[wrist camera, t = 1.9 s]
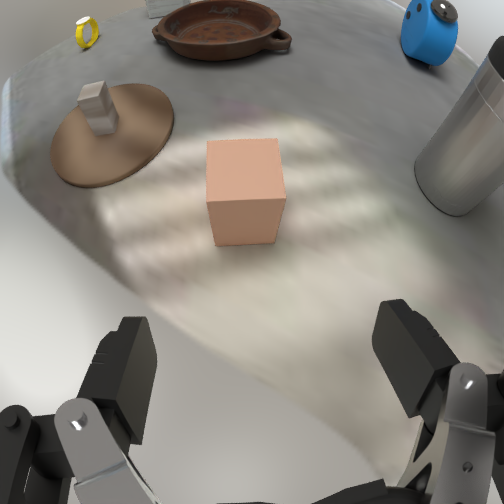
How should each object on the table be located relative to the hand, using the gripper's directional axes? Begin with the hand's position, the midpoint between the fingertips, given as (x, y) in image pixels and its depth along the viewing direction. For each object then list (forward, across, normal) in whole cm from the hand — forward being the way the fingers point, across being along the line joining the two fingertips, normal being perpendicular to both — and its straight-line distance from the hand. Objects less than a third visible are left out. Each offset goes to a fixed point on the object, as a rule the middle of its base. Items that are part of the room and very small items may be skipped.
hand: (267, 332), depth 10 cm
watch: (+47, +26, -25) cm, 59 cm away
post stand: (+28, +15, -7) cm, 33 cm away
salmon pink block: (+19, 0, +2) cm, 19 cm away
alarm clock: (+43, -33, -21) cm, 58 cm away
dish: (+42, +2, -20) cm, 46 cm away
